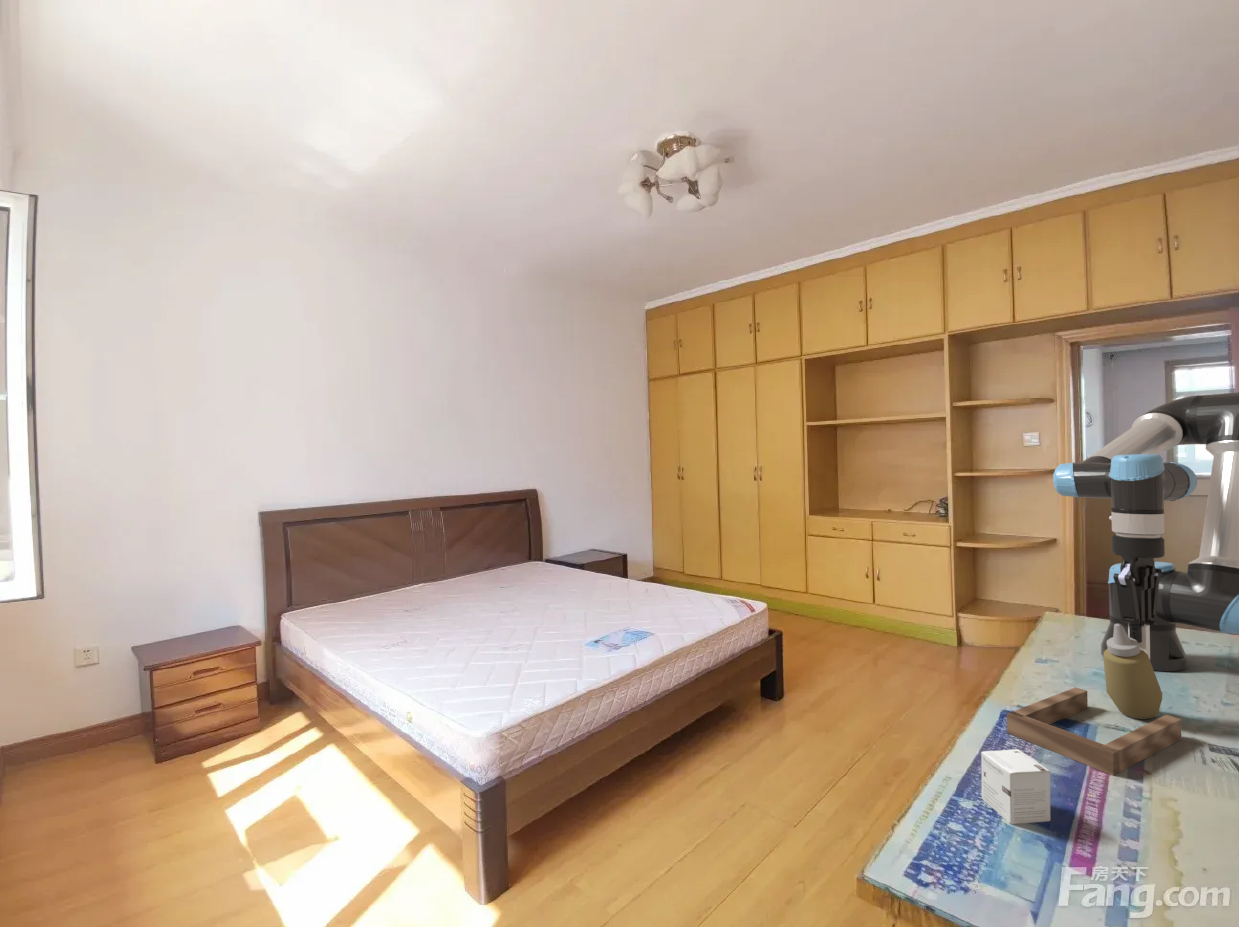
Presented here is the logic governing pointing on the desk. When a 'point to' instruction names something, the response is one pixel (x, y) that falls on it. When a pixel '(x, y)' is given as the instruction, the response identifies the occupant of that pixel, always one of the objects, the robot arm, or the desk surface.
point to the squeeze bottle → (1130, 677)
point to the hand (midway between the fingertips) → (1139, 657)
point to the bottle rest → (1107, 758)
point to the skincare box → (1016, 786)
